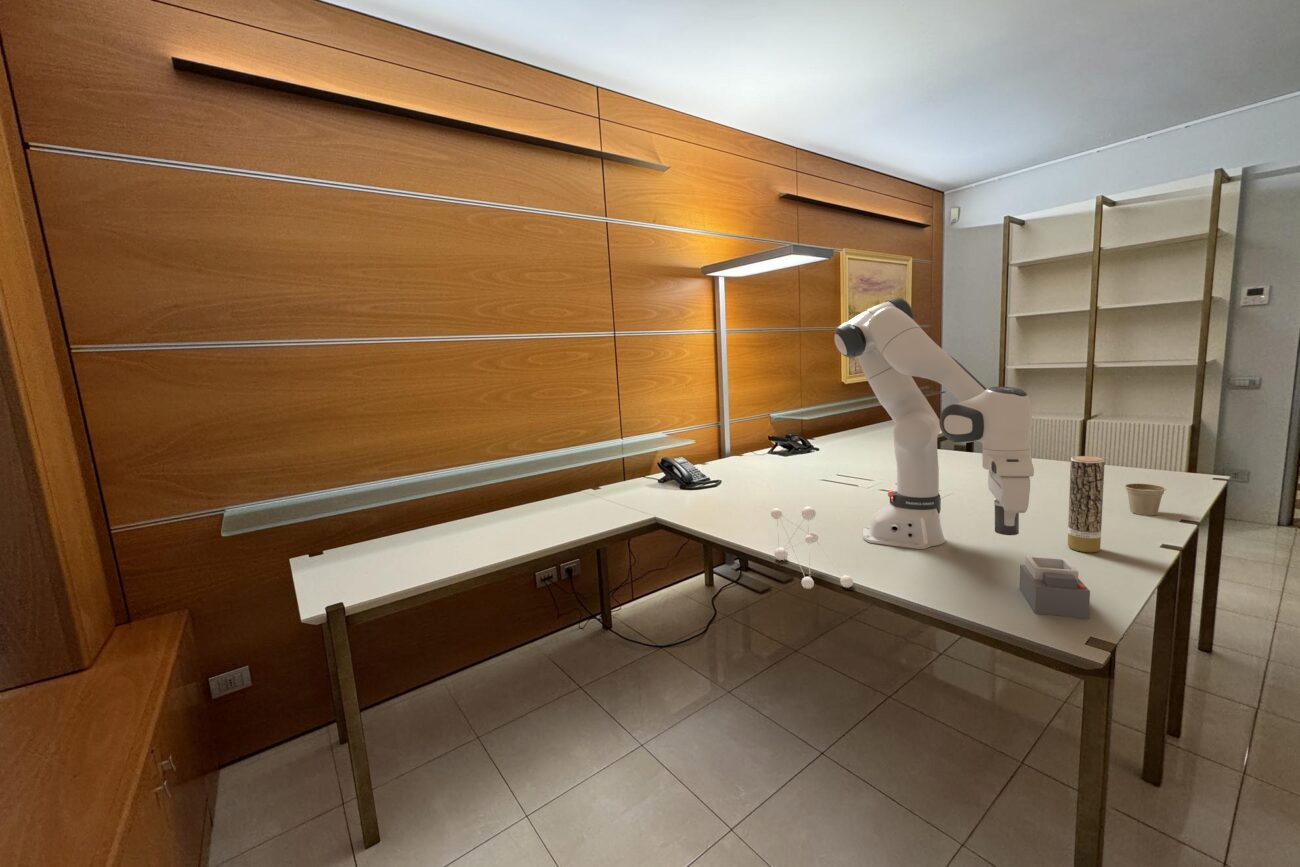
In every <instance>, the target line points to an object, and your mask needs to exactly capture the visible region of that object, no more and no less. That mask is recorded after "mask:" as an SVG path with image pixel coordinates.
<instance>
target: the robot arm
mask: <svg viewBox="0 0 1300 867" xmlns="http://www.w3.org/2000/svg"><path fill="white" fill-rule="evenodd" d="M914 314H915V313H914V310H913V308H912V306H911V305H910V303H909V302H907V300H905V299H903V298H901V297H895V298H894V297H893V298H890V299H887V300H885V301H884V302H881V303H879V304H877V305H874V306H871V307H869V308H867V309H864V311H863V312H860V313H859V314H857V315H855V316H854V317H851V319H849V320H847V321H845V322H843V323H841V324H840V325H839V326H837V327H836V328H835V329H834V333H833V339H834V344H835V347H836V349H837V350H838V352H840V353H841V355H842V356H844V357H846V358H849V359H852V358H856V357H857V359H858V362H859V365H860V368H861V370H862V372H863V375H864V376H865V379H866V380H867V382H868V384H869V386H870V387H871V389H872V392H873V393H874V395H875V397H876V399H877V400H878V402H879V404H880V405H881V406H882V407H883V408H884V410H885V411H886V412H887V414H888V415H889V416H890V417H891V420H892V421H893V422H894V425H893V426H894V427H893V442H894V443H893V444H894V454H895V455H894V456H895V462H896V491H894V490H893V489H891V490H889V491H887V496H888V497H889V503H888V504H887V505H885V506H884V507H882V508H880V509H878V510H877V511H876V512H875V513H873V515H872V516H871V519H870V522H869V525H868V526H866V527H864V528H863V529H862V538H863V540H865V541H866V542H868V543H870V544H877V545H886V546H893V547H900V548H908V549H917V550H926V549H927V548H931V547H935V546H939V545H942V544H944V543H945V541H946V539H945V536H944V534H943V528H942V524H941V518H940V516H941V509H942V508H941V507H942V506H941V505H942V499H941V498H942V497H941V493H940V492H939V488H940V487H939V484H940V482H939V480H940V477H939V476H940V473H939V472H940V467H939V457H938V455H939V454H938V437H939V436H938V435H939V434H940V431H941V433H942V435H943V436H944V437H945V438H946V439H947V440H949V441H951V442H953V443H959V444H967V443H968V444H969V443H974V442H980V443H981V444H982V450H981V451H982V468H983V469H984V470H988V479H987V481H988V482H987V485H988V486H987V488H988V491H989V492H990V493H991V494H992V496H994V498H995V500H998V502H999V503H1000V504H1001V506H1002V507H1003V508H1004V516H1003V522H1004V524H1005V525H1006V526H1014V524H1015V516H1016V513H1019V514H1025V513H1026V512H1027V511H1028V507H1029V504H1030V492H1031V478H1030V477H1034V476H1035V466H1034V465H1033V462H1032V459H1033V458H1032V444H1031V441H1030V440H1031V439H1030V433H1031V431H1032V428H1033V427H1032V426H1033V420H1032V418H1033V417H1032V406H1031V405H1032V404H1031V400H1030V397H1029V395H1028V393H1027V392H1026V391H1024V390H1023V389H1020V388H1018V387H1010V386H992V387H988V388H987V387H986V386H985V385H984V384H983V383H982V382H980V381H979V380H978V379H977V378H976V377H975V376H974V375H973V374H972V373H971V372H970V371H969V370H967V369H966V368H965V366H963V365H962V364H961V363H960V362H959V361H958V360H956V359H955V358H954V357H953V356H951V355H950V353H948V352H946V351H945V350H944V349H943V348H942V347H940V346H939V345H938V344H937V343H936V342H935V341H934V340H933V339H932V337H930V336H929V335H928V334H927V333H926V332H925V331H924V330H923V328H921V326H920V325H919V324H918V323H917V322H916V321H915V315H914ZM913 377H917V378H922V379H927V380H930V381H932V382H933V381H934V382H936V383H938V384H940V385H942V386H943V387H944V388H946V389H947V391H949V392H950V393H951V394H952V396H954V398H955V399H957V401H958V402H955V403H952V404H949V405H948V406H946V407H945V408H944V409H943V410H942V411H941V413H940V417H938V415H937V413H936V412H935V410H934V409H933V407H932V406H931V404H930V403H929V401H928V399H927V398H926V397H925V395H924V393H923V392H922V391H921V389H920V388H919V387H918V385H917V383H916V381H915V380H914V378H913Z"/></svg>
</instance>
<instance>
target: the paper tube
mask: <svg viewBox="0 0 1300 867" xmlns="http://www.w3.org/2000/svg"><path fill="white" fill-rule="evenodd" d="M1105 462H1106V461H1105V459H1104V458H1103V457H1099V456H1090V455H1089V456H1087V455H1078V456H1075V455H1074V456H1071V457H1070V465H1069V466H1070V468H1069V469H1070V471H1069V472H1070V474H1069V494H1068V518H1067V519H1068V522H1067V547H1068V548H1070V549H1072V550H1074V551H1077V552H1082V553H1091V554H1092V553H1097V552H1099V551H1100V550H1101V541H1102V522H1103V501H1104V485H1105V484H1104V482H1105V479H1104V478H1105Z"/></svg>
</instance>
